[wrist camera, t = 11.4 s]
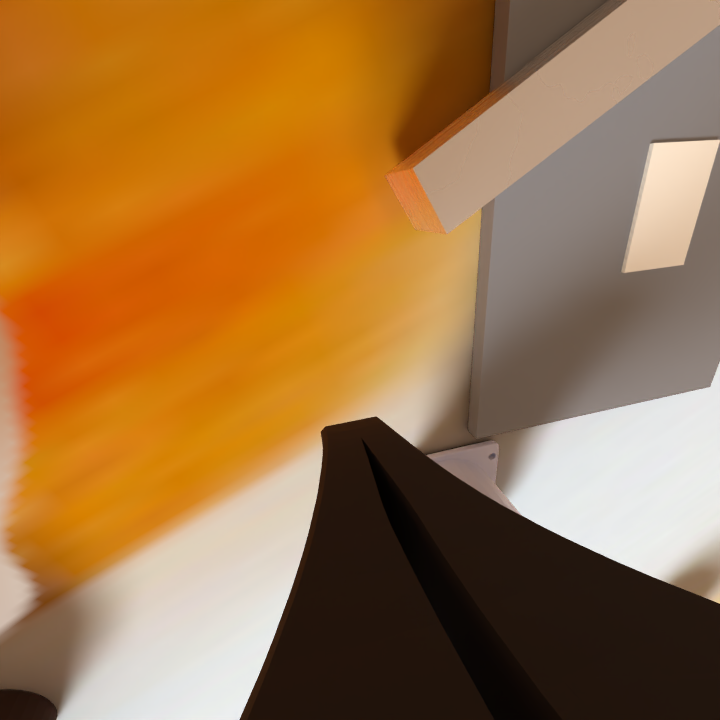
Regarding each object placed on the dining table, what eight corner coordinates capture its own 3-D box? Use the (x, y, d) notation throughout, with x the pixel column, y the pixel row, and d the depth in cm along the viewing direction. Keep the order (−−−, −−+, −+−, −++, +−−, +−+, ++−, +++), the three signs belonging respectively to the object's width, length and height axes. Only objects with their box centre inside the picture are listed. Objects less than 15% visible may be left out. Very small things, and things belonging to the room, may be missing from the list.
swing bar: (775, -140, 13) (903, -228, 11) (778, -44, 15) (892, -100, 12) (381, 169, 14) (408, 161, 12) (417, 234, 16) (450, 240, 13)
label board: (694, 380, 26) (713, 388, 25) (467, 429, 22) (478, 441, 21) (861, -95, 16) (904, -116, 15) (504, -140, 13) (527, -171, 11)
